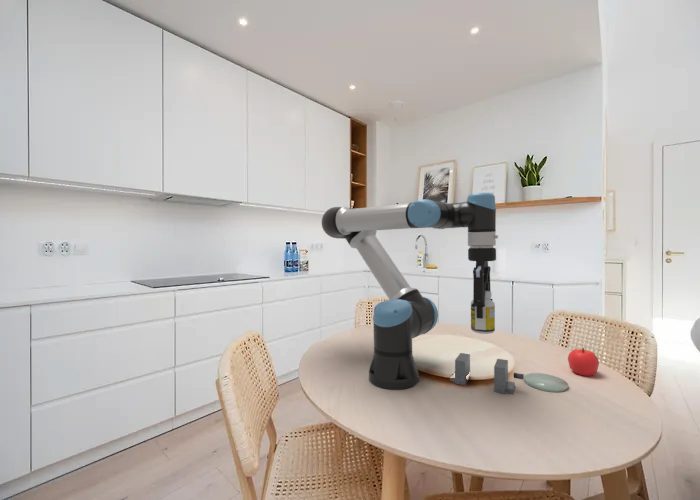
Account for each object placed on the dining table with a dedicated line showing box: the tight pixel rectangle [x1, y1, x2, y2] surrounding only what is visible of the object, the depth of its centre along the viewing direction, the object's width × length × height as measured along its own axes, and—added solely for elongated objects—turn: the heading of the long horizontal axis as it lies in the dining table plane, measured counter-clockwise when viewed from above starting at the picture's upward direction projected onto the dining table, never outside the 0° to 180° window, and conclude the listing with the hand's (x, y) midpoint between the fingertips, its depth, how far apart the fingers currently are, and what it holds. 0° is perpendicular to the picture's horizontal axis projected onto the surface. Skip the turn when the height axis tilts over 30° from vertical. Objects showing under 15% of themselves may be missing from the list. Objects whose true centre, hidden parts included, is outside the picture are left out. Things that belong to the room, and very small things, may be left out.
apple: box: [567, 347, 600, 377], centre depth 102 cm, size 8×8×8 cm
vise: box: [449, 352, 525, 395], centre depth 96 cm, size 19×7×7 cm, turn 59°
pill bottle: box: [470, 290, 496, 335], centre depth 96 cm, size 6×6×12 cm
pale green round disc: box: [523, 372, 569, 393], centre depth 96 cm, size 11×11×1 cm
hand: (482, 326), depth 96 cm, fingers closed on pill bottle, 6 cm apart
